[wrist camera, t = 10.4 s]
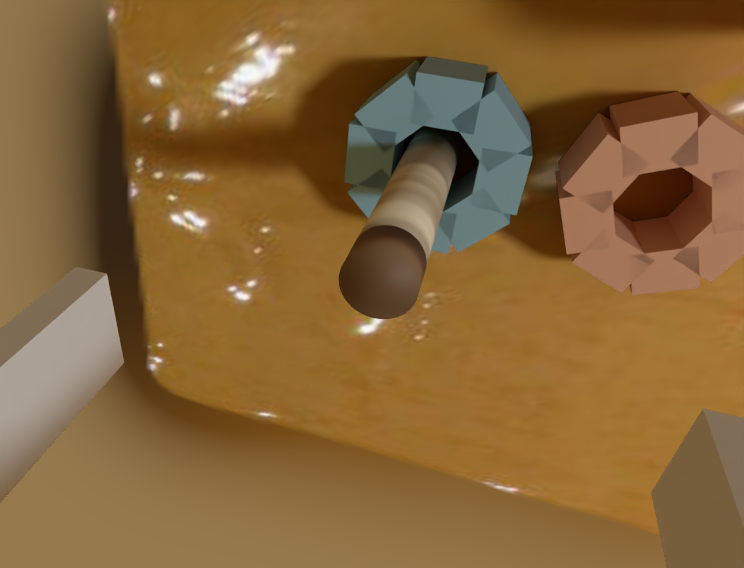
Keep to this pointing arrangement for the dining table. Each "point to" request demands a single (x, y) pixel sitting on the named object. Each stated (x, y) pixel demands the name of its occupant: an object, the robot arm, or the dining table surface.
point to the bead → (450, 112)
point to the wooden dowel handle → (401, 228)
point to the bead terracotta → (665, 234)
